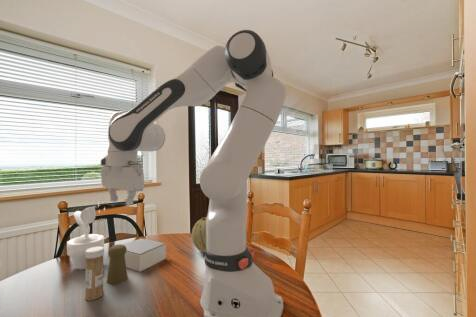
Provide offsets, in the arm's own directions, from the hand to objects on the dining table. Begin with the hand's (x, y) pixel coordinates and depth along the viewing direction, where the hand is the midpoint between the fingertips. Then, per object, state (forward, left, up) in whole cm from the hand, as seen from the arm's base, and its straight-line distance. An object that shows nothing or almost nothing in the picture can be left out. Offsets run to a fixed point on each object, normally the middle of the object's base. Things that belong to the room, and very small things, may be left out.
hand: (121, 202), depth 74 cm
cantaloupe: (-13, -32, -25) cm, 42 cm away
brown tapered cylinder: (0, +1, -25) cm, 25 cm away
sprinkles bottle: (-2, +10, -25) cm, 27 cm away
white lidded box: (+5, -12, -25) cm, 28 cm away
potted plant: (+20, 0, -25) cm, 32 cm away
